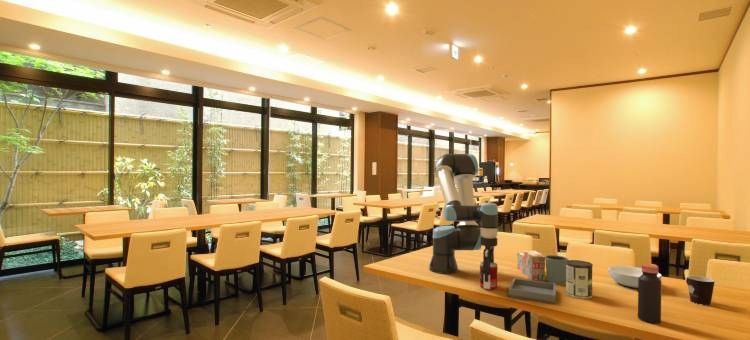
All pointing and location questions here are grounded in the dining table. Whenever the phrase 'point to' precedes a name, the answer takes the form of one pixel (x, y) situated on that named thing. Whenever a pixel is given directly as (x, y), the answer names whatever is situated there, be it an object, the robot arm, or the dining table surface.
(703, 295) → the coffee mug
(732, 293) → the dining table surface
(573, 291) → the coffee can
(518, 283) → the tray
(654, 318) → the bottle
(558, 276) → the grey cylinder
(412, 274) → the dining table surface
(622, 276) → the serving bowl
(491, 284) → the canned food
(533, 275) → the white food box
